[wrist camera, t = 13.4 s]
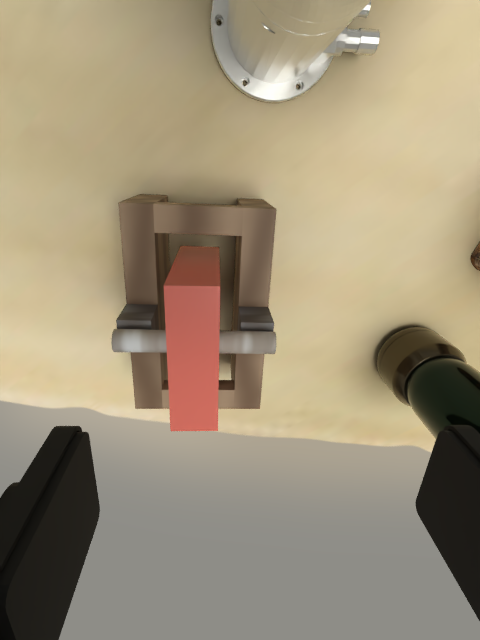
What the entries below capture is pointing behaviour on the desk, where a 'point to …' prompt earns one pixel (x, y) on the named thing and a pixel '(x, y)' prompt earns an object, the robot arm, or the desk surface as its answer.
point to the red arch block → (193, 338)
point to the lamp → (431, 378)
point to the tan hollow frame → (148, 293)
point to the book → (476, 257)
